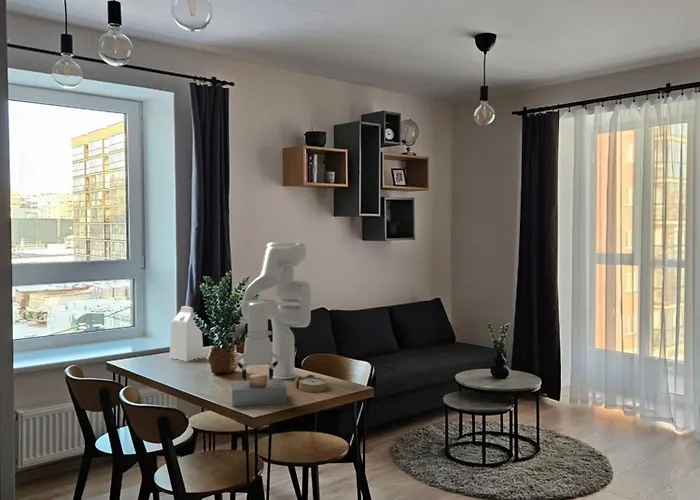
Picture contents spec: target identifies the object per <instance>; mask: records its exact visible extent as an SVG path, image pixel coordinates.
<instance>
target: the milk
mask: <svg viewBox="0 0 700 500" xmlns="http://www.w3.org/2000/svg"><path fill="white" fill-rule="evenodd" d="M194 314H195V313H194V310H193V307H191V306H186V305H185V306H180V309H179V312H178V313H177V315H176V316H175V317H174V318H173V319H172V320H171V325H170V339H169V340H170V343H169V357H168V359H169V358H173V359H179V360H178V361H180V360H184V361H183V362H186V361H187V362H190V361H189V360H191V361H194V360H193V359H196V360H198V359H197V358H200V359H203V358H204V344H203V343H204V342H203V330H202V331H201V330H200V329H199V328H198V327H197V326H196V323H195V320H193V315H194ZM195 316H196V319H200V318H199V317H198V316H197V315H196V314H195ZM202 357H203V358H202ZM173 359H172V360H173Z"/></svg>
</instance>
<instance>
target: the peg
mask: <svg viewBox="0 0 700 500" xmlns="http://www.w3.org/2000/svg"><path fill="white" fill-rule="evenodd" d="M248 378H249V379H248V380H249V385H251V386H264V385H266V384H267V379H268V375H267V374H262V373H261V374H260V373H259V374H258V373H257V374H251V375H249V377H248Z"/></svg>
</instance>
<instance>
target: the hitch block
mask: <svg viewBox="0 0 700 500" xmlns="http://www.w3.org/2000/svg"><path fill="white" fill-rule="evenodd" d="M287 391H288V390H287V386H286V383H284V380H283V379H273V378H272V380H270V379H269V378H267V384H266V385H264V386H251V385H249V379H246V381H244V379H243V380H230V381H229V398H230V402H231V406H232V407H233V408H234V407H246V406H247V407H248V406H262V405H265V406H266V405H279V404H282V405H284V404H287Z"/></svg>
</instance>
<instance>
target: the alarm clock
mask: <svg viewBox="0 0 700 500" xmlns="http://www.w3.org/2000/svg"><path fill="white" fill-rule="evenodd" d="M294 379H295V380H294V381H293V383H294V386H295V388H297V389H298V390H300V391H302V392H307V393H317V392H318V393H319V392H324V391H326V390H327V388H329V386H328V385H327V380H326V379H324V378H322V377H316V376H314V375H313V374H308V375H306V376H305V377H302V376H297V377H296V378H294ZM323 390H324V391H323Z"/></svg>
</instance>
